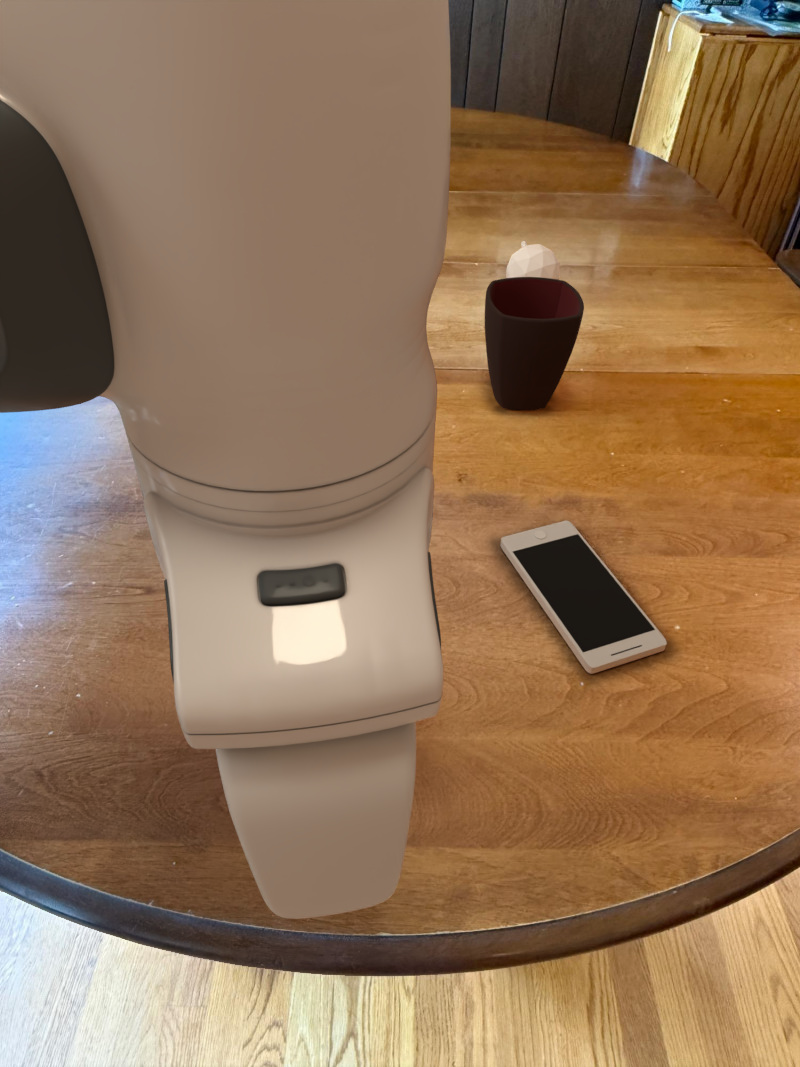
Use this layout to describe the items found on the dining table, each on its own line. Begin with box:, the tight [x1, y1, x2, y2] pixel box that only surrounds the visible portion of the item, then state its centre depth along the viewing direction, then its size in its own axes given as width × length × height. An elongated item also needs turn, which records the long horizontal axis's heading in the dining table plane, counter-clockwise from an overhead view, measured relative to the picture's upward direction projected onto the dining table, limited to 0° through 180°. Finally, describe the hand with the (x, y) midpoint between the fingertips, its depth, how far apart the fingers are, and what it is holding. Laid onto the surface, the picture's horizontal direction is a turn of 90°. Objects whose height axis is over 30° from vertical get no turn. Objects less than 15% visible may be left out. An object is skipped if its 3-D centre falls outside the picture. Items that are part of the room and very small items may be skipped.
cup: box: [484, 277, 585, 412], centre depth 85 cm, size 10×14×12 cm
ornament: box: [505, 240, 561, 280], centre depth 103 cm, size 7×7×8 cm
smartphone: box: [500, 520, 668, 675], centre depth 65 cm, size 7×15×1 cm, turn 21°
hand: (315, 725), depth 33 cm, fingers open, 3 cm apart
